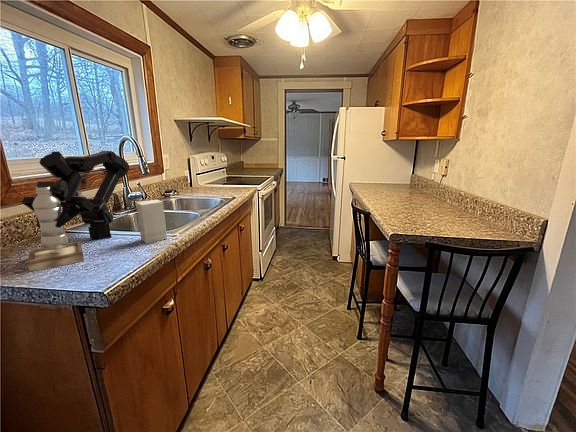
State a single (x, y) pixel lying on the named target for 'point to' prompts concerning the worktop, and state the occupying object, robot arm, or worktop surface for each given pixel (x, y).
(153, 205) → the skincare box
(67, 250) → the stand
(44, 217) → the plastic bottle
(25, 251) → the worktop surface
